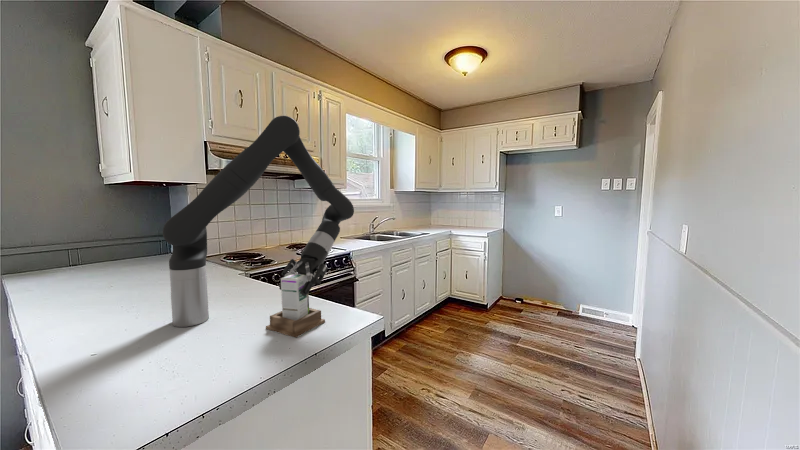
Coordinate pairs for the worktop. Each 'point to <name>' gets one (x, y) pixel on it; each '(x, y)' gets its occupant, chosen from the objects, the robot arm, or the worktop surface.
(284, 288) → the syrup box
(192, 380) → the worktop surface
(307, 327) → the walnut socket
